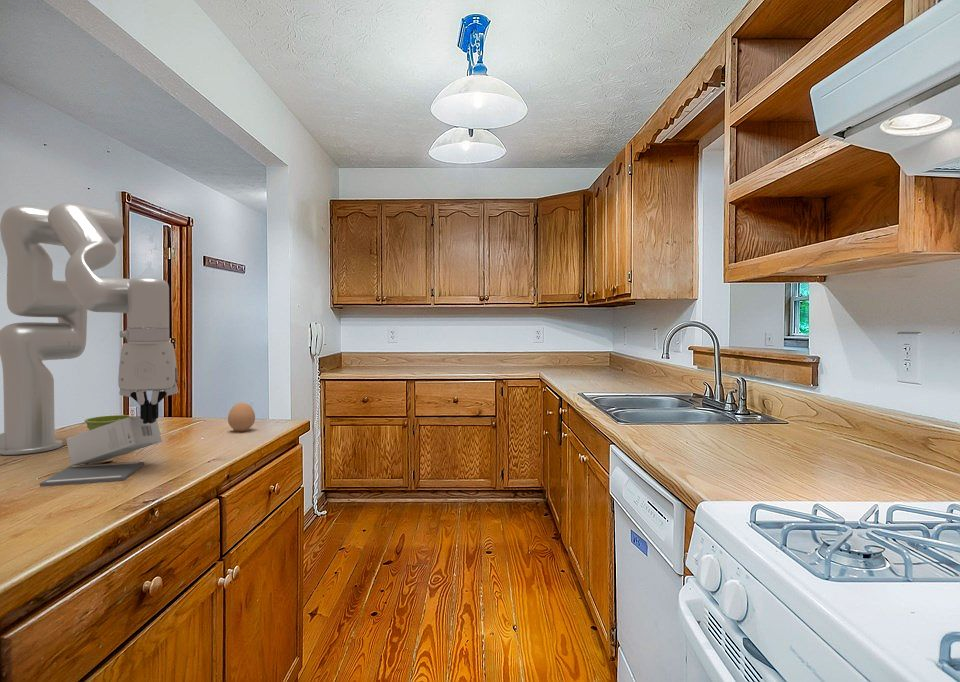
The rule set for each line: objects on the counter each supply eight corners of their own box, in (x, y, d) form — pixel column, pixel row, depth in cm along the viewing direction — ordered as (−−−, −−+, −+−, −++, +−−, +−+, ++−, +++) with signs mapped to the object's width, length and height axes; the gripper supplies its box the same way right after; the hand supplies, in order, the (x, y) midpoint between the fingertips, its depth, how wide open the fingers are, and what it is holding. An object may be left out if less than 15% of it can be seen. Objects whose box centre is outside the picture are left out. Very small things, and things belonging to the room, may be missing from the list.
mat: (39, 486, 101) (39, 482, 101) (69, 468, 113) (69, 465, 113) (123, 480, 105) (123, 477, 105) (143, 464, 117) (143, 461, 117)
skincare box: (129, 416, 111) (63, 437, 112) (136, 446, 110) (69, 467, 111) (157, 415, 119) (95, 434, 120) (163, 443, 118) (101, 462, 119)
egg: (237, 434, 150) (237, 405, 150) (222, 431, 154) (222, 402, 154) (260, 430, 156) (260, 402, 156) (245, 427, 160) (245, 400, 160)
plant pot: (86, 460, 120) (86, 423, 120) (83, 452, 127) (82, 417, 127) (135, 454, 127) (134, 418, 126) (129, 447, 134) (128, 413, 133)
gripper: (101, 337, 106) (101, 427, 106) (184, 337, 110) (184, 424, 111) (114, 336, 113) (115, 421, 113) (192, 336, 117) (192, 418, 118)
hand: (149, 422), depth 112 cm, fingers closed
